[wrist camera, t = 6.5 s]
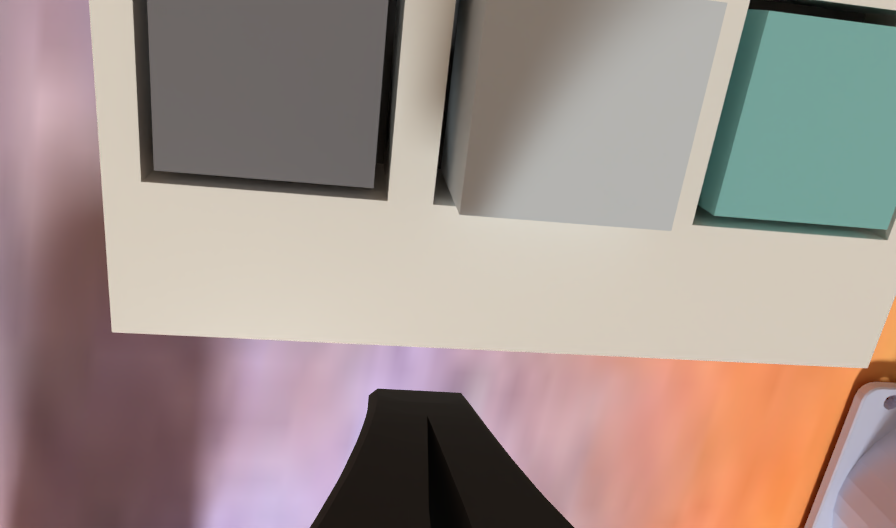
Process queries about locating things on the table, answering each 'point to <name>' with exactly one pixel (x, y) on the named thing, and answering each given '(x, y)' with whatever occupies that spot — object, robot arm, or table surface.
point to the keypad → (467, 236)
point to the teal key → (807, 124)
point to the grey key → (577, 108)
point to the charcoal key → (267, 88)
